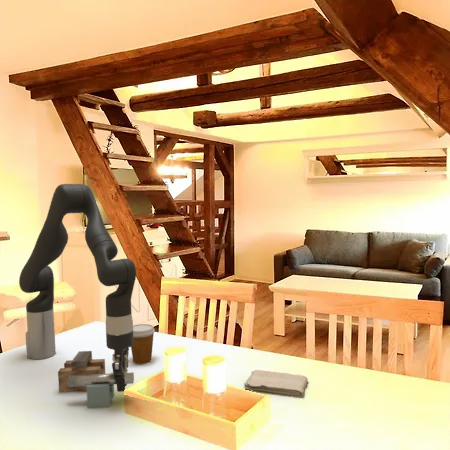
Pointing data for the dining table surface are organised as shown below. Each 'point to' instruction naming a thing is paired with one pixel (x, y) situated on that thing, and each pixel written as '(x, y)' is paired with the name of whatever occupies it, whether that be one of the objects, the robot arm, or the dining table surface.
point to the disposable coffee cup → (142, 343)
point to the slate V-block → (99, 395)
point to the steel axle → (97, 379)
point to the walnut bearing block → (79, 370)
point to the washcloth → (276, 383)
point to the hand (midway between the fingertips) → (122, 388)
